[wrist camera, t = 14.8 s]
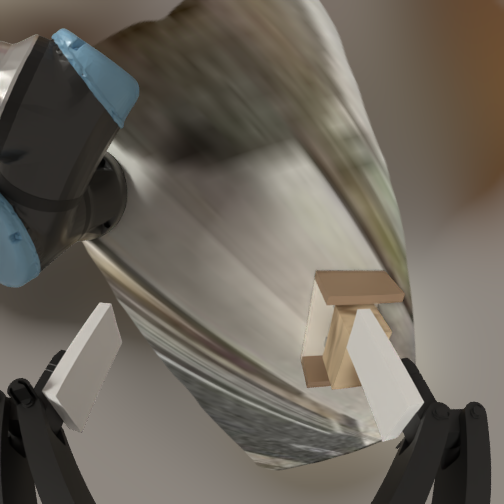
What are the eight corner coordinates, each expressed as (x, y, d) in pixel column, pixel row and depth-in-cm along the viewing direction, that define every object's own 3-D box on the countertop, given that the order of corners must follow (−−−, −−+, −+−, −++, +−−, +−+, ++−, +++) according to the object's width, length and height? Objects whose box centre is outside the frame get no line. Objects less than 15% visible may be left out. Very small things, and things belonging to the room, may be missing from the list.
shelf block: (322, 357, 48) (332, 389, 41) (335, 304, 43) (349, 335, 36) (356, 354, 48) (369, 384, 41) (373, 302, 43) (392, 331, 36)
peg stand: (300, 358, 53) (307, 387, 46) (315, 270, 45) (328, 296, 38) (359, 353, 54) (371, 380, 46) (384, 270, 46) (404, 293, 38)
